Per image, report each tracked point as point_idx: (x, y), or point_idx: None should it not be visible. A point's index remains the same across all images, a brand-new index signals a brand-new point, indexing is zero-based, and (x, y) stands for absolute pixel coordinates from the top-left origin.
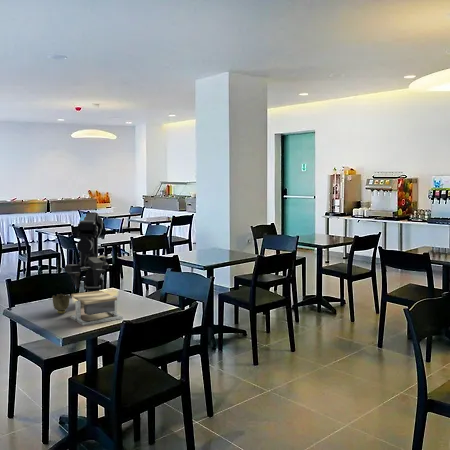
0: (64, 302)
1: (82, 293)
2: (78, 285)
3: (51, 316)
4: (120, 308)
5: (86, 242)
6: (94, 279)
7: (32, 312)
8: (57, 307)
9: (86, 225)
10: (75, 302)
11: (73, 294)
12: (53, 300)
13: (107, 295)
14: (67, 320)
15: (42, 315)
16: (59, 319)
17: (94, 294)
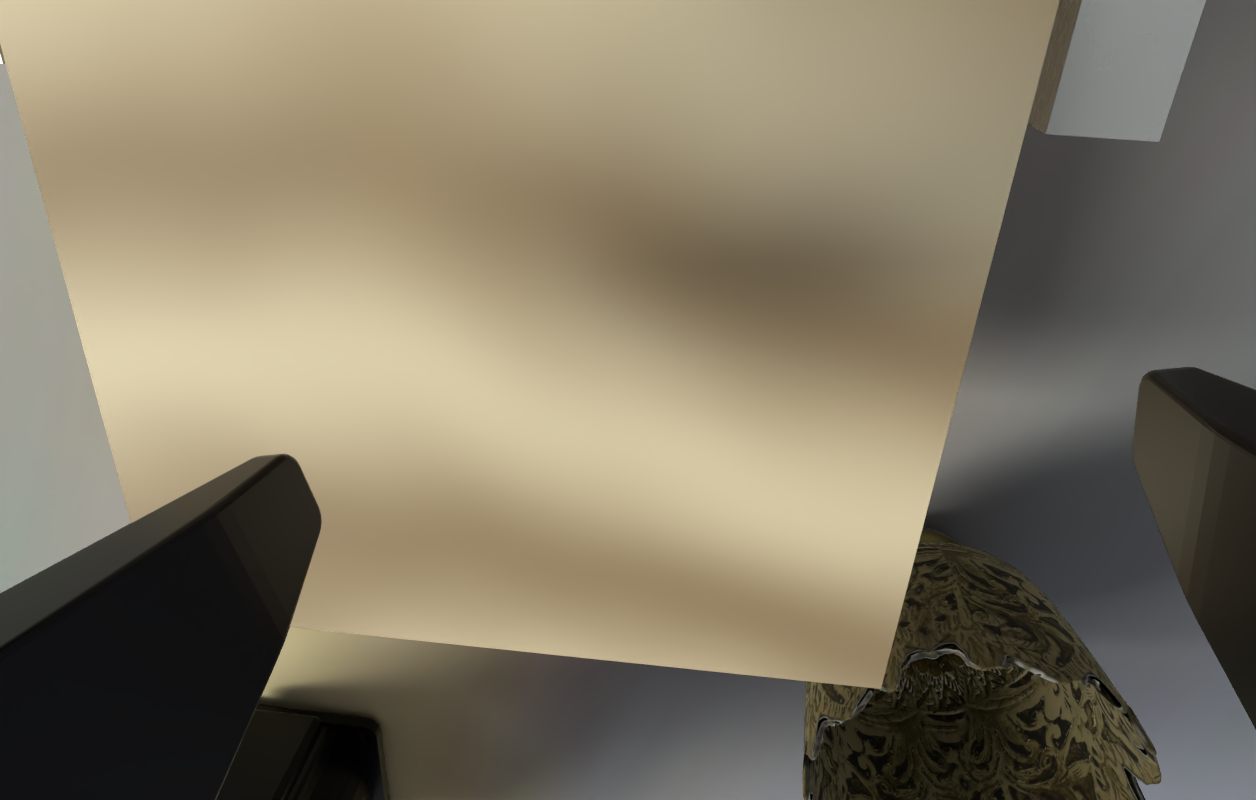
0: (977, 604)
1: (633, 620)
2: (1250, 410)
3: (1108, 516)
4: (35, 304)
5: None
6: (204, 726)
7: (1160, 783)
8: (1047, 597)
9: None
10: (1140, 129)
11: (848, 652)
12: (1121, 743)
13: (118, 77)
14: (1074, 176)
15: (1164, 620)
16: (1130, 310)
17: (420, 392)
